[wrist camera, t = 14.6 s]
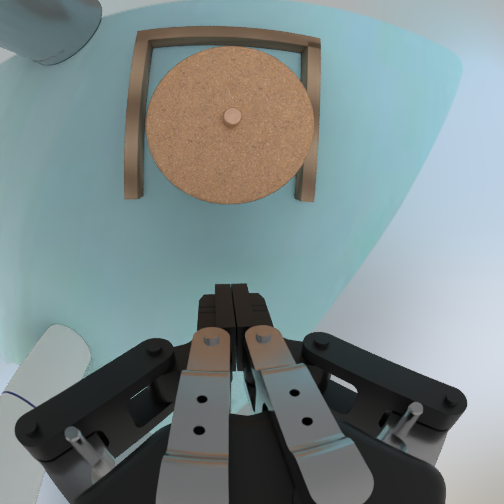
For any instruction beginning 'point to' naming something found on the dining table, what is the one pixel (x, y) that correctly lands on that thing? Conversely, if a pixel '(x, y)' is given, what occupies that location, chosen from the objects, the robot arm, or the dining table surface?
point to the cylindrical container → (30, 396)
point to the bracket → (216, 36)
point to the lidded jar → (229, 125)
